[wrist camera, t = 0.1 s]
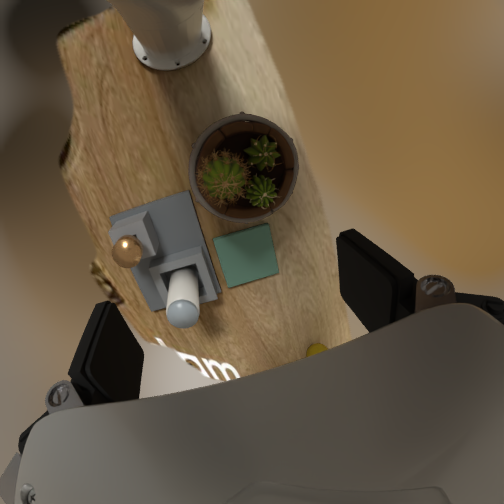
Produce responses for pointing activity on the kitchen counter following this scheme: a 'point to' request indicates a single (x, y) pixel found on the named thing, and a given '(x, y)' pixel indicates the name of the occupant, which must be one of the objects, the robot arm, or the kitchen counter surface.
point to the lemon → (316, 349)
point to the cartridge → (183, 297)
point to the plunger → (127, 251)
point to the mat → (246, 255)
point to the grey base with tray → (167, 246)
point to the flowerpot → (243, 168)
